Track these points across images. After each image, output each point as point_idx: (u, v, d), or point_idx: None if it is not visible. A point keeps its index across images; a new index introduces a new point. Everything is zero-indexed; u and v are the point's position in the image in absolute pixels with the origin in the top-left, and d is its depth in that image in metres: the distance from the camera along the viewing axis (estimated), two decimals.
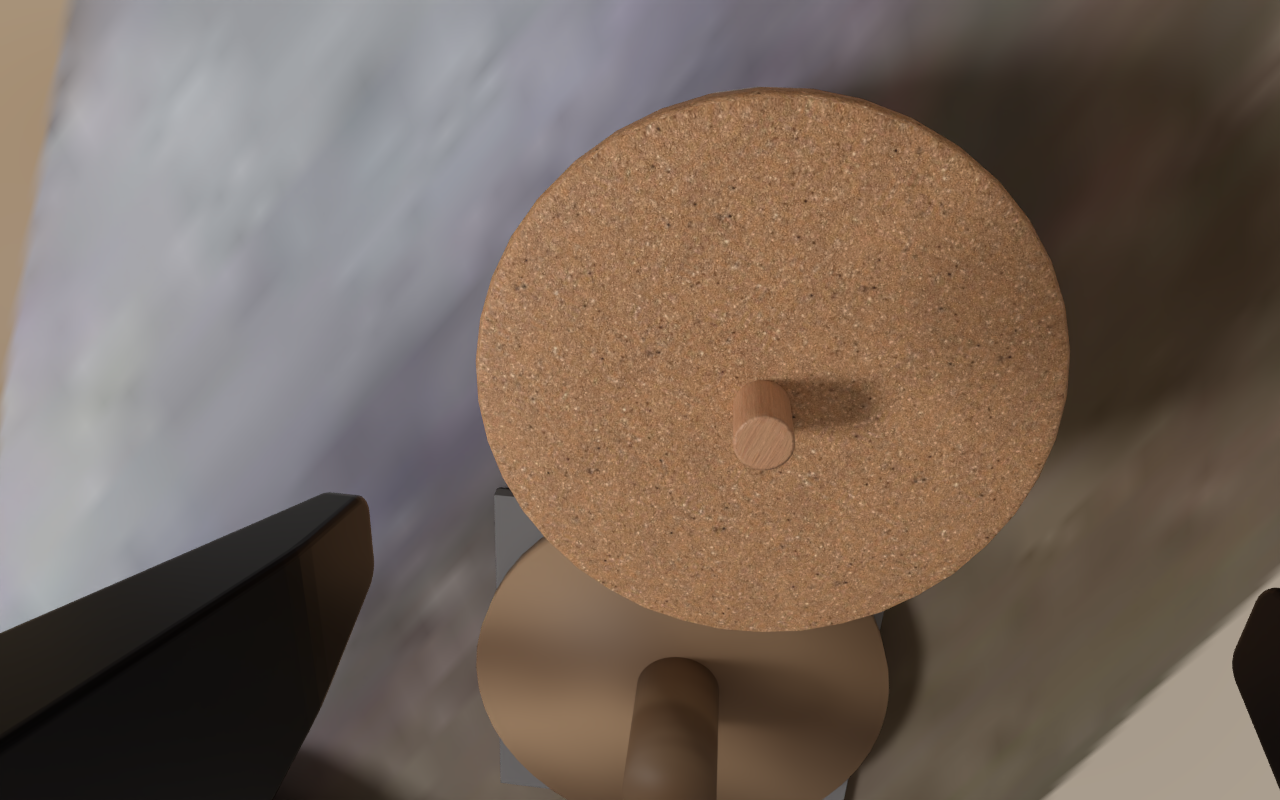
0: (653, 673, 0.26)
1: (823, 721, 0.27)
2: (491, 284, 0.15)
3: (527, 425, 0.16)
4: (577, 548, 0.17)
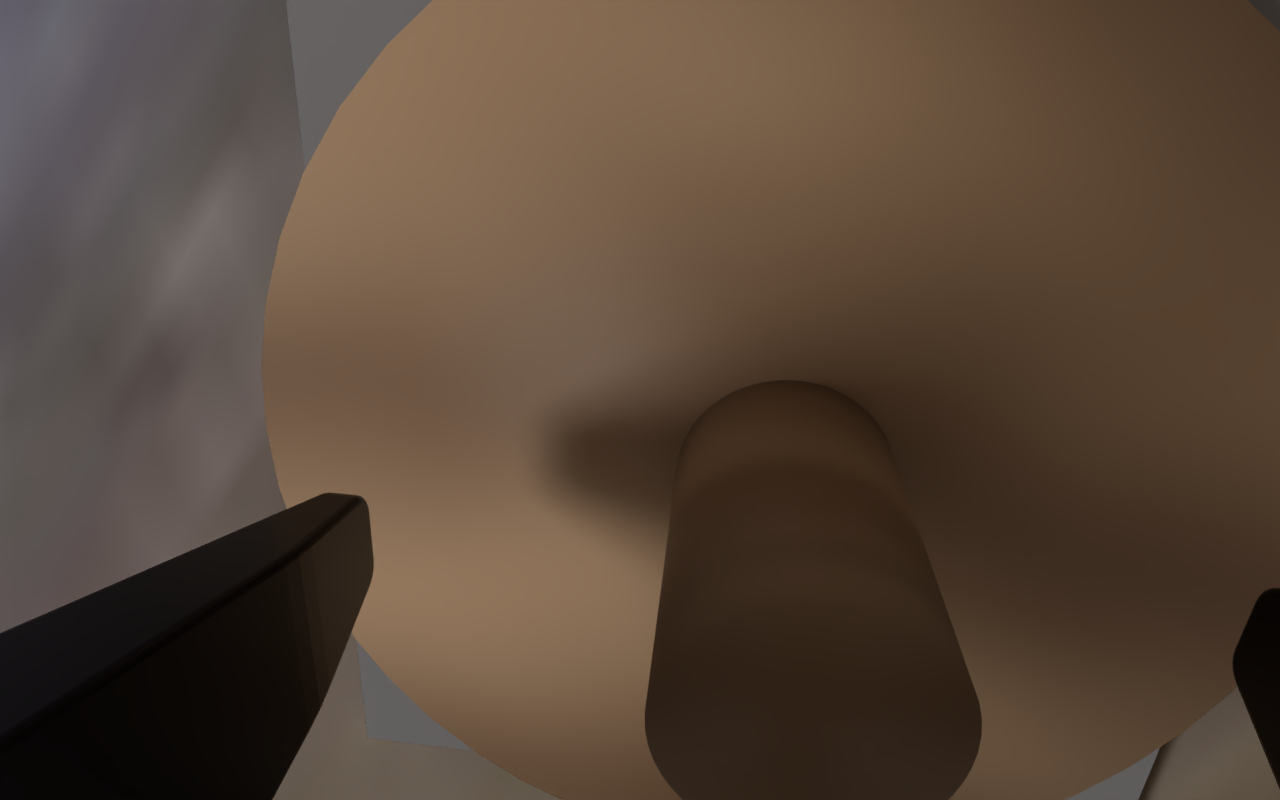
0: (726, 416, 0.09)
1: (1166, 560, 0.10)
2: None
3: None
4: None
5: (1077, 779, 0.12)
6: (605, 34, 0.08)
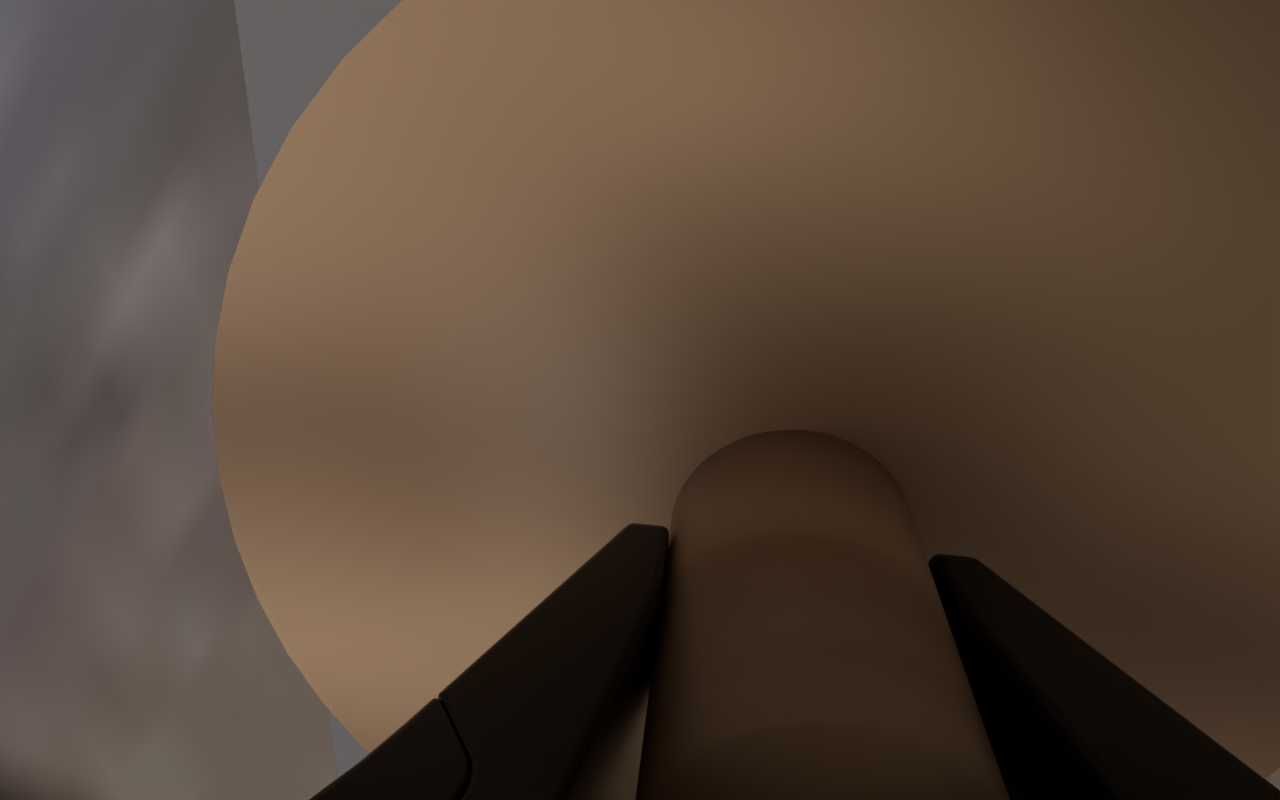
0: (724, 471, 0.08)
1: (1211, 627, 0.09)
2: None
3: None
4: None
5: None
6: (588, 47, 0.07)
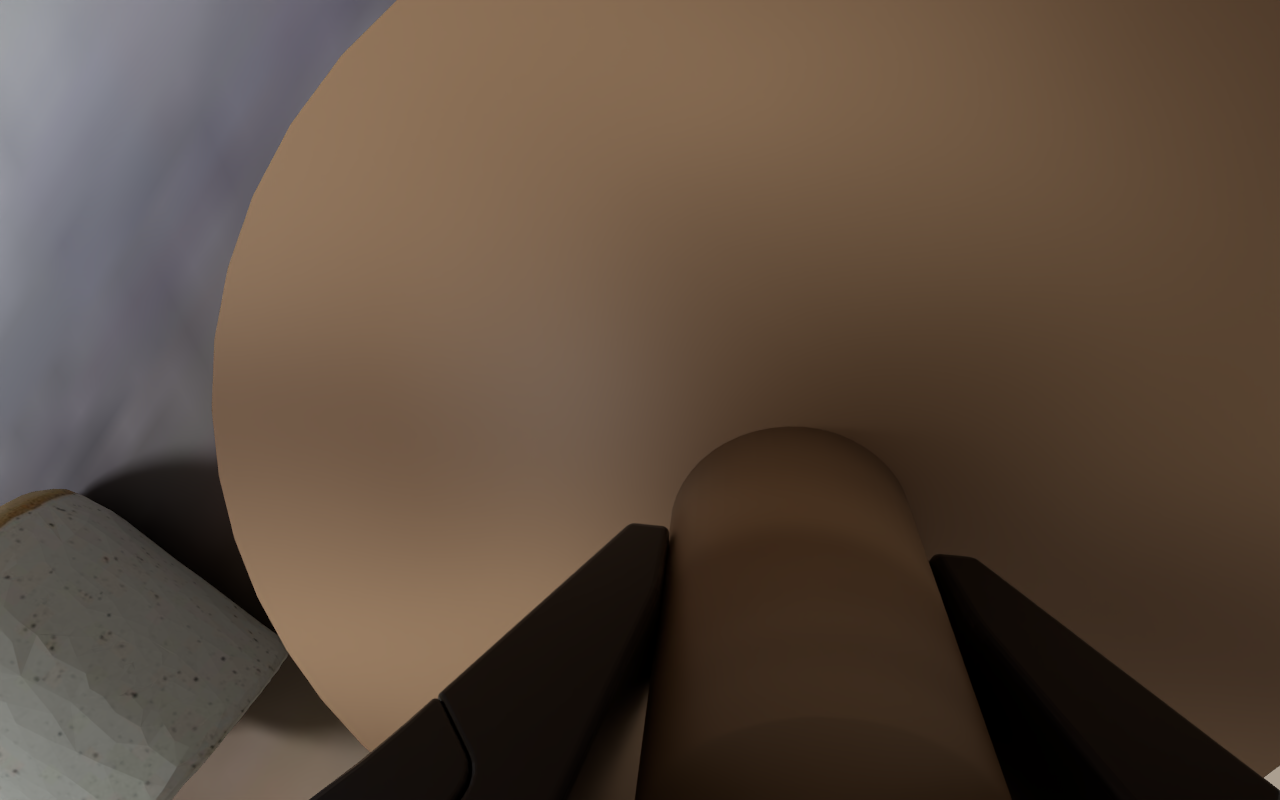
0: (724, 468, 0.08)
1: (1213, 624, 0.09)
2: None
3: None
4: None
5: None
6: (588, 43, 0.07)
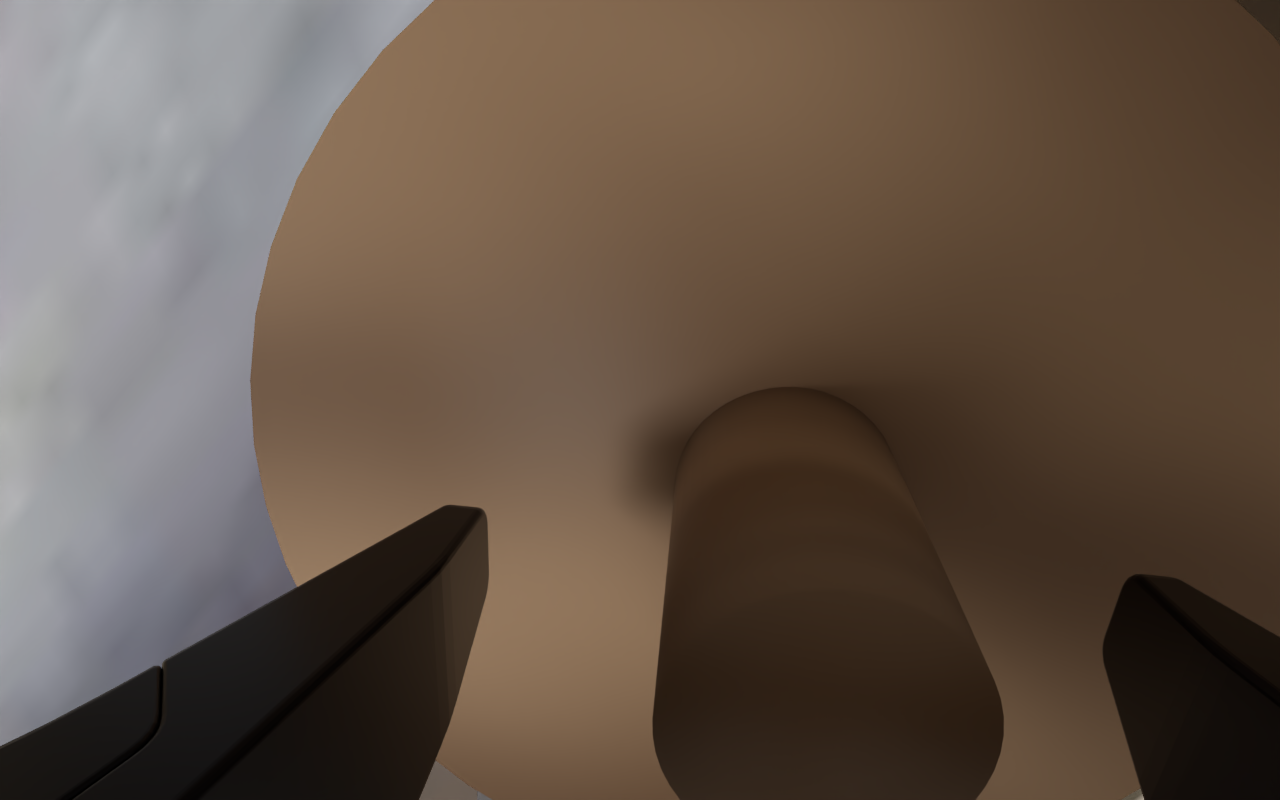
0: (726, 422, 0.09)
1: (1173, 569, 0.10)
2: None
3: None
4: None
5: None
6: (602, 38, 0.08)
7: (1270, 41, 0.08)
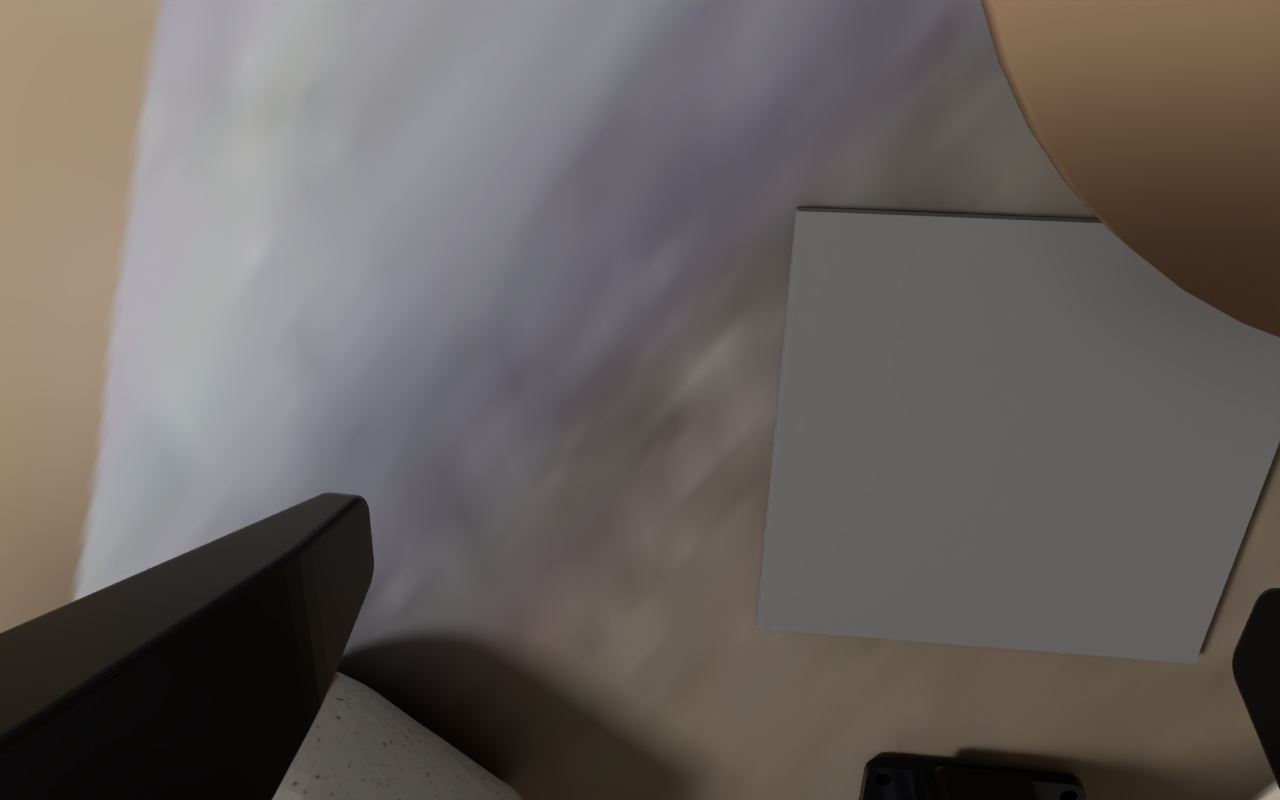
0: None
1: None
2: None
3: None
4: None
5: None
6: None
7: None
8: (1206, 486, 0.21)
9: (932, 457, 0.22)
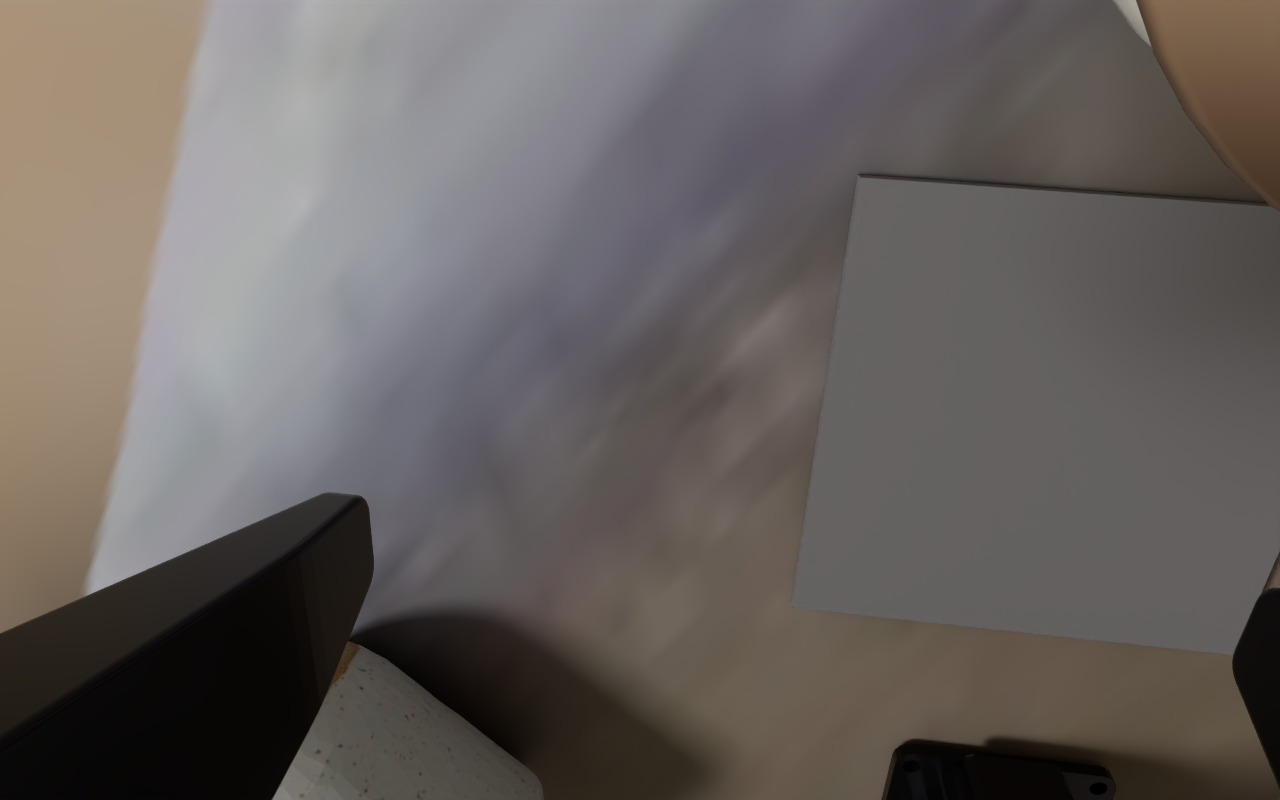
0: None
1: None
2: None
3: None
4: None
5: None
6: None
7: None
8: (1256, 473, 0.21)
9: (981, 435, 0.21)
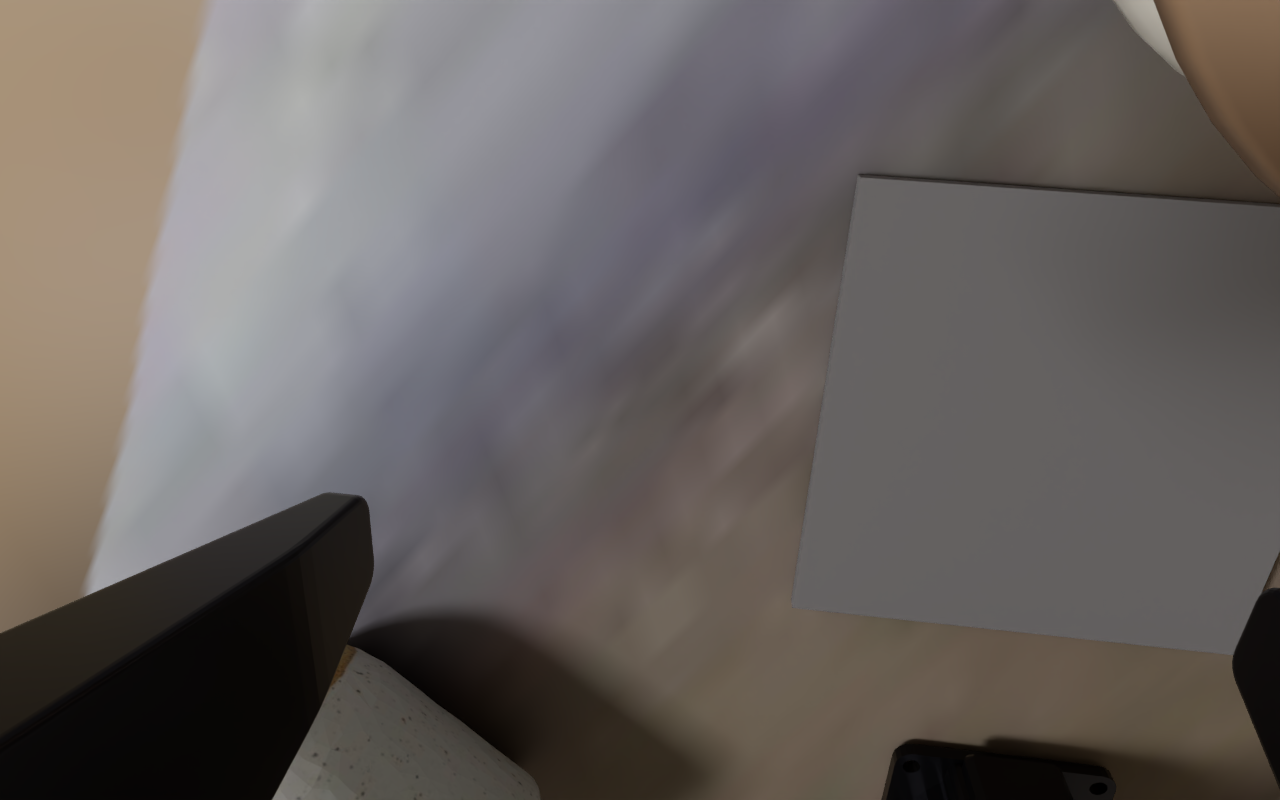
0: None
1: None
2: None
3: None
4: None
5: None
6: None
7: None
8: (1256, 473, 0.21)
9: (981, 435, 0.21)
